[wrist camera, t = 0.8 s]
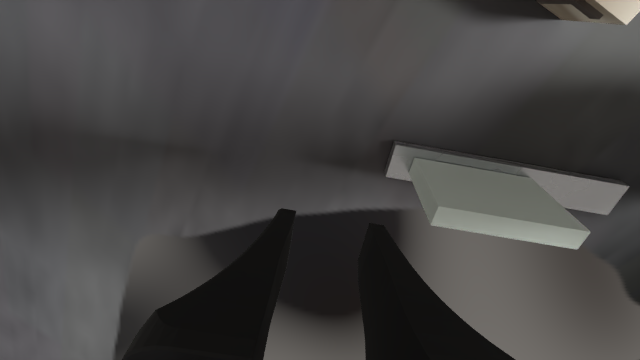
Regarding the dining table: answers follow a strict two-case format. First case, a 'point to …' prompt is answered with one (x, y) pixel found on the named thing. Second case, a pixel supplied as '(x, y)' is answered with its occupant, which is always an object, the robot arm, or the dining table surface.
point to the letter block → (594, 10)
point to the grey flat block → (493, 204)
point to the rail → (557, 183)
